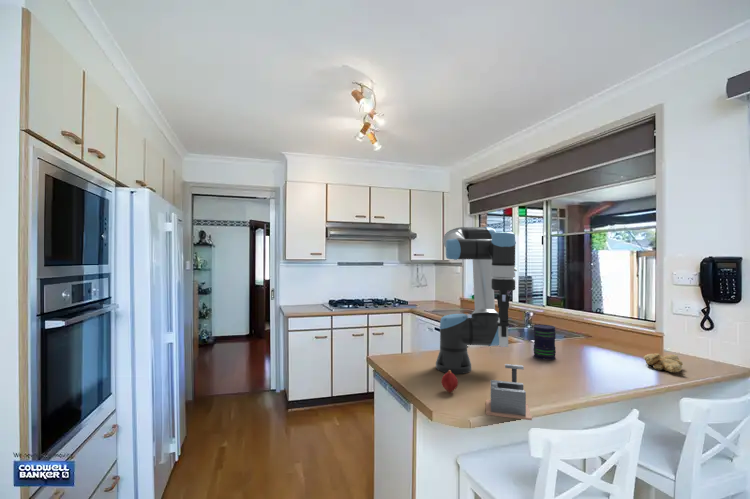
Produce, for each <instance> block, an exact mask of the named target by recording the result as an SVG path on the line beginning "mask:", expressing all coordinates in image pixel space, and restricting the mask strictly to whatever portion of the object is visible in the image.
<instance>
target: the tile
mask: <svg viewBox="0 0 750 499" xmlns="http://www.w3.org/2000/svg"><path fill="white" fill-rule="evenodd" d="M530 410H531V409H530V408H529V404H528V403H526V416H520V415H512V414H504V413H496V412H491V399H485V414H486V415H487V416H493V417H495V416H496V417H502V418H503V417H504V418H511V419H517V420H527V421H533V417H532V414H531V411H530Z"/></svg>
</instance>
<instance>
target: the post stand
mask: <svg viewBox="0 0 750 499" xmlns="http://www.w3.org/2000/svg"><path fill="white" fill-rule="evenodd" d="M504 368H505V369H511V382H518V378H517V376H518V375H517V374H518V372H517V370H522V371H523V370H524V368H525V367H524V365H522V364H510V363H509V364H508V363H504Z"/></svg>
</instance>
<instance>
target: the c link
mask: <svg viewBox="0 0 750 499" xmlns="http://www.w3.org/2000/svg"><path fill="white" fill-rule="evenodd" d="M526 396H527V394H526V390H525V389H524V383H523V382H518V381H517V382H512V381H508V380H507V381H505V380H495V379H490V400H491V412H496V413H504V414H512V415H520V416H526V404H527V398H526Z"/></svg>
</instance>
